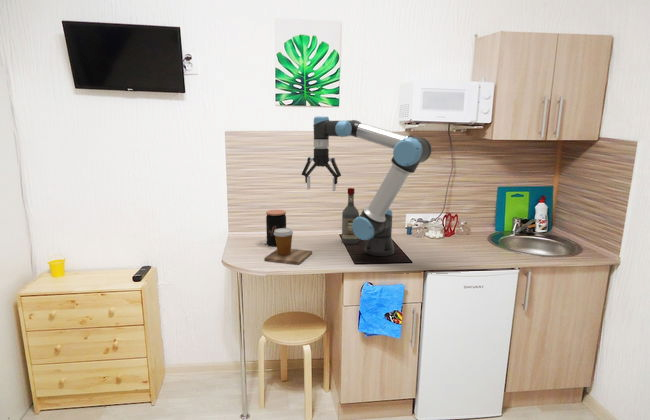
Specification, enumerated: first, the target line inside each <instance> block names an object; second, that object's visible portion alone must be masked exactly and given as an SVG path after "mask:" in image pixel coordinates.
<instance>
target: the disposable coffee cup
mask: <svg viewBox="0 0 650 420" xmlns="http://www.w3.org/2000/svg"><path fill="white" fill-rule="evenodd" d="M293 234H294V231H293V229H292V228H288V227H286V228H279V229H276V230H275V231H274V235H275V240H276V246H275V247H276V250H277V251H278V255H289V254H290V253H291V249H292V241H293Z"/></svg>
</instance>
